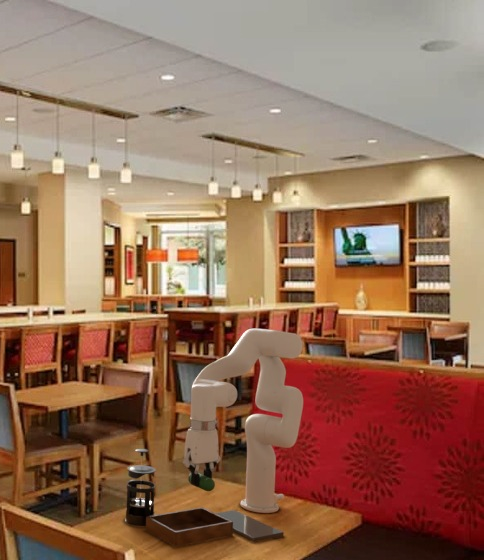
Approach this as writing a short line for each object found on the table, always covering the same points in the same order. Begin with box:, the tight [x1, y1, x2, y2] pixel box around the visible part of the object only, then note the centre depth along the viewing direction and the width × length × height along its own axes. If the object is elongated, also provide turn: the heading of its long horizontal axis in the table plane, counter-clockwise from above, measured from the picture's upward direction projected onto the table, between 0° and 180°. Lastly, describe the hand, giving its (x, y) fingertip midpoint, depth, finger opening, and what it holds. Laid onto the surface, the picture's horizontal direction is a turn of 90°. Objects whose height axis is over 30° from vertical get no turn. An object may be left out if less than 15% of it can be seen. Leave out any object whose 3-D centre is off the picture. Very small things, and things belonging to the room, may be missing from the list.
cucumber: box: [187, 472, 216, 492], centre depth 221 cm, size 4×10×4 cm, turn 29°
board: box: [214, 509, 285, 543], centre depth 227 cm, size 12×22×2 cm, turn 29°
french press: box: [124, 448, 157, 527], centre depth 229 cm, size 12×9×23 cm
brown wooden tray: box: [145, 506, 234, 547], centre depth 220 cm, size 22×15×4 cm
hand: (201, 484), depth 221 cm, fingers closed on cucumber, 4 cm apart
